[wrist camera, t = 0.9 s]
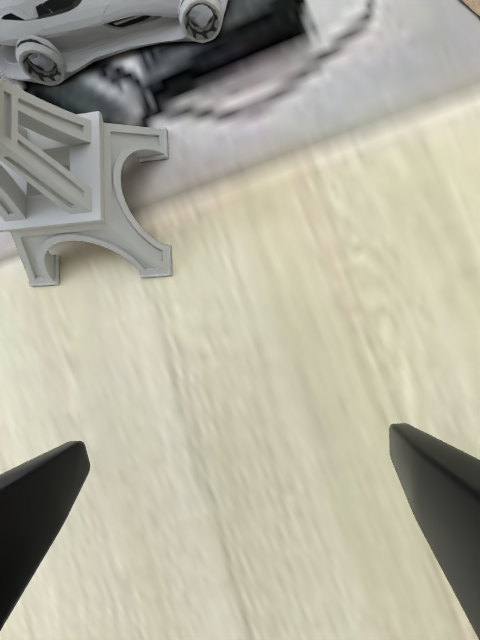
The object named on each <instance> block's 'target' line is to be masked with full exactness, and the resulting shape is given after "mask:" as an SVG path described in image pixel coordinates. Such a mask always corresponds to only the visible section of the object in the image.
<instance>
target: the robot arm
mask: <svg viewBox="0 0 480 640" xmlns="http://www.w3.org/2000/svg"><path fill="white" fill-rule="evenodd" d="M389 442H390V456H391V460H392V462H393V465H394V467H395V470H396V472H397V475H398V477H399V480H400V482H401V485H402V487H403V490H404V492H405V495H406V497H407V500H408V502H409V504H410V507H411V509H412V512H413V514H414V516H415V518H416V520H417V522H418V524H419V526H420V528H421V530H422V532H423V534H424V536H425V538H426V540H427V542H428V544H429V545H430V547H431V549H432V551H433V553H434V555H435V557H436V559H437V561H438V562H439V564H440V566H441V568H442V570H443V572H444V574H445V576H446V578H447V580H448V581H449V583H450V585H451V587H452V589H453V591H454V593H455V595H456V597H457V598H458V600H459V602H460V604H461V606H462V608H463V610H464V612H465V614H466V616H467V617H468V619H469V621H470V623H471V625H472V627H473V629H474V631H475V633H476V634H477V636H478V638H479V640H480V460H479V459H477V458H475V457H473V456H471V455H469V454H467V453H465V452H463V451H461V450H459V449H457V448H455V447H453V446H451V445H449V444H447V443H445V442H443V441H441V440H439V439H437V438H435V437H433V436H431V435H429V434H427V433H425V432H423V431H421V430H419V429H417V428H415V427H413V426H411V425H409V424H406V423H401V424H391V425H390V428H389ZM89 470H90V462H89V458H88V454H87V451H86V447H85V444H84V443H83V442H82V441H70V442H67V443H65V444H63V445H61V446H59V447H56V448H54V449H52V450H50V451H48V452H46V453H44V454H42V455H40V456H38V457H36V458H34V459H32V460H30V461H28V462H25V463H23V464H21V465H19V466H17V467H15V468H13V469H11V470H9V471H7V472H5V473H3V474H1V475H0V631H1V629H2V627H3V625H4V624H5V622H6V620H7V619H8V617H9V615H10V614H11V612H12V610H13V609H14V607H15V605H16V604H17V602H18V600H19V598H20V597H21V595H22V593H23V592H24V590H25V588H26V587H27V585H28V583H29V582H30V580H31V578H32V577H33V575H34V573H35V572H36V570H37V568H38V566H39V565H40V563H41V561H42V560H43V558H44V556H45V555H46V553H47V551H48V550H49V548H50V546H51V545H52V543H53V541H54V540H55V538H56V536H57V534H58V533H59V531H60V529H61V528H62V526H63V524H64V522H65V520H66V518H67V516H68V514H69V512H70V510H71V508H72V506H73V504H74V502H75V500H76V498H77V496H78V494H79V492H80V490H81V488H82V486H83V484H84V482H85V480H86V477H87V475H88V473H89Z"/></svg>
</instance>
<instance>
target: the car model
mask: <svg viewBox="0 0 480 640" xmlns="http://www.w3.org/2000/svg"><path fill="white" fill-rule="evenodd" d="M227 2H228V0H0V45H3V46H2V47H1V48H0V71H1V73H2V74H3V75H4V76H6V77H8V78H11V79H15V80H22V81H29V82H36V83H40V84H44V85H49V86H54V85H57V84H60V83H61V82H63V81H64V80H65V79H67V78H68V77H70V76H71V75H73V74H75V73H77V72H78V71H80V70H82V69H83V68H85V67H87V66H88V65H90V64H92V63H93V62H95V61H98V60H101V59H104V58H107V57H110V56H113V55H116V54H118V53H121V52H124V51H127V50H131V49H136V48H140V47H145V46H150V45H155V44H159V43H167V42H178V41H195V42H199V43H205V42H208V41H211V40H213V39H215V37H216V36H217V35H218V34H219V32H220V29H221V26H222V22H223V16H224V13H225V10H226V6H227Z"/></svg>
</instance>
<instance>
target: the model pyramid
mask: <svg viewBox="0 0 480 640" xmlns="http://www.w3.org/2000/svg"><path fill="white" fill-rule="evenodd" d="M462 1H463V2H464V3H465V4H466V5H467V6H469V7H470V8H471V9H472V10H473V11H474V12H475V13H476V14H477V15H479V16H480V0H462Z"/></svg>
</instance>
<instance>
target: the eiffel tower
mask: <svg viewBox="0 0 480 640" xmlns="http://www.w3.org/2000/svg"><path fill="white" fill-rule="evenodd" d="M131 153H134V154H136V155H137V156H138V160H139V162H145V161H153V160H161V159H168V135H167V129H166V127H164V128H148V127H138V126H129V125H119V124H110V123H103V119H102V115H101V113H100V112H99V111H97V112H90V113H83V114H77V115H76V114H73V113H71V112H68V111H66V110H64V109H61V108H59V107H57V106H54V105H52V104H50V103H48V102H46V101H43V100H41V99H39V98H37V97H35V96H33V95H31V94H29V93H27V92H25V91H23V90H21V89H19V88H17V87H15V86H13V85H11V84H9V83H7V82H5V81H3V80H1V77H0V232H11V235H12V237H13V240H14V242H15V245H16V247H17V250H18V252H19V255H20V258H21V260H22V263H23V265H24V268H25V270H26V273H27V275H28V278H29V286H32V287H36V286H49V285H59V256H58V255H51V254H50V253H49V252H48V249H49V248H50V247H51V246H53V245H54V244H56V243H59V242H63V241H84V242H89V243H93V244H97V245H100V246H103V247H105V248H108V249H110V250H112V251H114V252H116V253H118V254H119V255H121V256H122V257H124V258H125V259H127V260H128V261H129V262H131V263H132V264H133V265H134V266H135V267H136V268H137V269H138V270H139V271H140V272H141V277H142V278H150V277H162V276H172V258H171V245H170V244H167V245H163V244H161V243H160V242H158V241H156V240H155V239H154V238H152V237H151V236H150V235H149V234H148V233H146V232H145V231H144V230H143V228H142V227H141V226H140V225H139V224H138V223H137V221H136V220H135V218H134V217H133V215H132V214H131V212H130V210H129V208H128V206H127V204H126V202H125V199H124V196H123V193H122V188H121V169H122V166H123V163H124V161H125V159H126V158H127V157H128V156H129V155H130V154H131ZM64 165H70V171H69V170H67V169H66V168H65V167H63V166H64Z"/></svg>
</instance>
